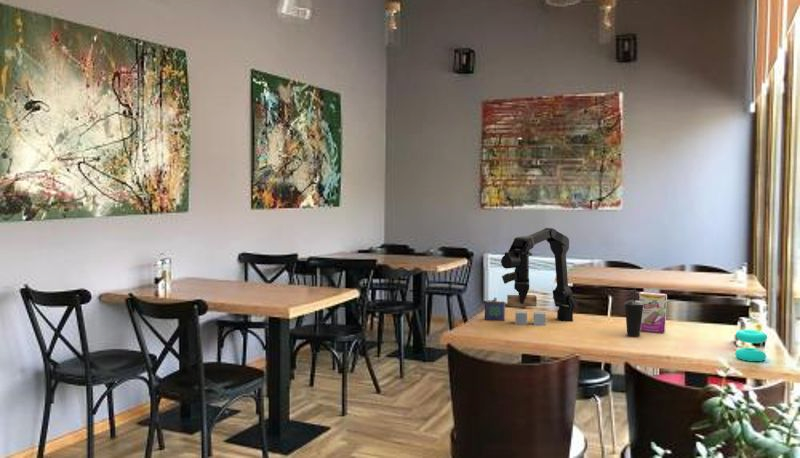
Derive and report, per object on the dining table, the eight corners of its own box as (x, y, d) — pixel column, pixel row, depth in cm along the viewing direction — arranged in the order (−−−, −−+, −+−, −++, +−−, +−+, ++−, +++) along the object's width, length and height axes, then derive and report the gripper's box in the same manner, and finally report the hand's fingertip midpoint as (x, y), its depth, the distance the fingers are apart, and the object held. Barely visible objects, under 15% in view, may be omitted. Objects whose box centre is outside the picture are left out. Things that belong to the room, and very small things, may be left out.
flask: (504, 320, 315) (504, 297, 314) (505, 321, 312) (505, 298, 311) (484, 320, 315) (484, 296, 315) (484, 321, 312) (485, 297, 312)
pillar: (544, 323, 307) (545, 312, 307) (545, 325, 302) (545, 314, 302) (533, 322, 308) (533, 311, 308) (533, 325, 303) (533, 313, 303)
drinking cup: (642, 334, 287) (644, 287, 285) (643, 338, 279) (644, 289, 278) (623, 333, 289) (625, 286, 288) (623, 336, 282) (624, 288, 281)
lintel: (535, 304, 298) (535, 295, 297) (536, 306, 293) (536, 297, 292) (507, 304, 299) (507, 295, 298) (508, 306, 294) (508, 297, 293)
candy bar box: (637, 331, 294) (638, 293, 293) (638, 329, 298) (639, 291, 297) (664, 333, 289) (666, 295, 288) (665, 331, 293) (667, 293, 292)
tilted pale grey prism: (526, 322, 308) (527, 311, 308) (526, 324, 304) (527, 313, 303) (515, 322, 309) (515, 311, 309) (515, 324, 304) (515, 313, 304)
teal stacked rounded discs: (766, 330, 249) (768, 335, 240) (764, 357, 250) (767, 363, 241) (735, 327, 253) (736, 333, 244) (734, 354, 254) (735, 360, 245)
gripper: (503, 263, 305) (503, 298, 306) (502, 269, 287) (502, 306, 288) (529, 264, 303) (528, 298, 304) (529, 269, 285) (529, 306, 286)
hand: (521, 302), depth 296 cm, fingers closed on lintel, 5 cm apart
